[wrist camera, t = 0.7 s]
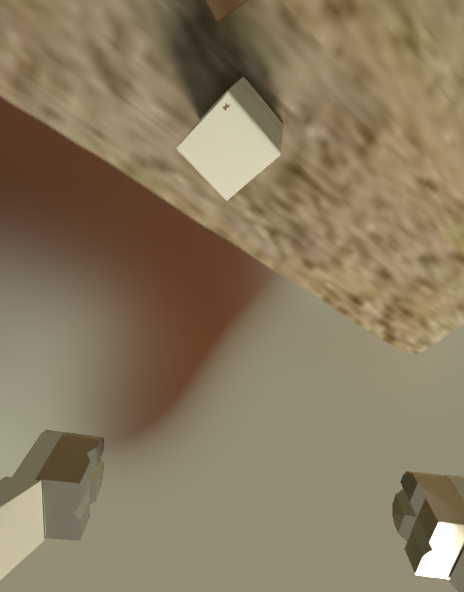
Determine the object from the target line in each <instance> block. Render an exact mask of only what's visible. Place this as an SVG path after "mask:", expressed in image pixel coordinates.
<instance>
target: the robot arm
mask: <svg viewBox="0 0 464 592" xmlns="http://www.w3.org/2000/svg"><path fill="white" fill-rule="evenodd" d="M103 451H104V438H103V437H98V436H91V435H83V434H76V433H69V432H58V431H51V430H45V431H44V432H43V433H41V435H40V436H39V438H38V439H37V441H36V442H35V444H34V445H33V447H32V448H31V450H30V451H29V453H28V454H27V455H26V457H25V458H24V460H23V461H22V463H21V465H20V466H19V468H18V469H17V471H16V472H15V473H14V475H13V477H5V478H3V479H1V480H0V580H1V579H2V578H3V577H4V576H5V575H6V574H7V573H9V571H11V570H12V569H13V568H14V567H15V566H16V565H17V564H18V563H20V562H21V561H22V560H23V559H24V558H25V557H26V556H27V555H28V554H30V553H31V552H32V551H33V550H34V549H35V548H36V547H37V546H38V545H39V544H40V543H42V542H43V541H44V538H53V539H67V540H80V539H81V537H82V535H83V532H84V530H85V527H86V525H87V522H88V519H89V517H90V505H91V504H92V503H93V502H95V501H96V499H97V496H98V493H99V491H100V487H101V483H102V479H103V470H104V462H103V461H102V459H101V456H102V453H103ZM401 484H402V486H403V490H401V491H400V492H398V493H397V494H396V495H395V498H394V501H393V519H394V524H395V527H396V529H397V532H398V533H399V534H400V535H401V536H402V537H403V538H404V539H405V540H406V541H407V543H406V546H405V551H406V553H407V556H408V558H409V561H410V563H411V565H412V567H413V570H414V572H415V574H416V575H422V576H429V577H437V578H445V579H449V582H450V583H451V584H452V585H453V586H454V587H455V588H456V590H457V591H458V592H464V478H463V477H461V476H451V475H438V474H428V473H419V472H410V471H407V472H406V473H405V474H404V475H403V477H402V479H401Z"/></svg>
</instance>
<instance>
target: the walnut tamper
mask: <svg viewBox="0 0 464 592" xmlns="http://www.w3.org/2000/svg"><path fill="white" fill-rule="evenodd" d="M206 1H207V3H208V5H209V7H210V9H211V11H212V13H213V15H214V17H215V19H216V21H217V22H219V21H221V20H222V19H223V18H225V17H226V16H227V15H229V14H230V13H231V12H233V11H234V10H235V9H237V8H238V7H239V6H241V5H242V4H243V3H245V2H246V1H247V0H206Z"/></svg>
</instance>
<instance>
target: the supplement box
mask: <svg viewBox="0 0 464 592" xmlns="http://www.w3.org/2000/svg"><path fill="white" fill-rule="evenodd" d="M282 134H283V124H282V122H281V121H280V120H279V118H278V117H277V116H276V115H275V113H274V112H273V111H272V110H271V108H270V107H269V106H268V105H267V104H266V102H265V101H264V100H263V99H262V98H261V96H260V95H259V94H258V93H257V92H256V90H255V89H254V88H253V87H252V86H251V84H250V83H249V82H248V81H247V80H246V78H245V77H242V78H241V79H240V80H239V81H237V82H236V83H235V84H234V85H233V86H232V87H231V88H230V89H229V90H227V91H226V92H225V93H224V94H223V95H222V96H221V97H220V98H219V100H218V101H217V102H216V103H215V104H214V105H213V106H212V107H211V108H210V109H209V110H208V111H207V112H206V113H205V114H204V116H203V117H202V118H201V119H200V120H199V121H198V122H197V123H196V125H195V126H194V127H193V128H192V129H191V131H190V132H189V133H188V134H187V135H186V137H185V138H184V139H183V140H182V141H181V142H180V144H179V145H178V146H177V150H178V151H179V152H180V153H181V154H182V155H183V156H184V157H185V158H186V159H187V160H188V161H189V162H190V164H191V165H192V166H193V167H194V168H195V169H196V170H197V171H198V172H199V173H200V174H201V175H202V176H203V177H204V178H205V179H206V180H207V181H208V182H209V183H210V184H211V185H212V186H213V187H214V188H215V189H216V191H217V192H218V193H219V194H220V195H221V196H222V197H223V198H224V199H225V200H226V201H228V200H229V199H230V198H231V197H232V196H233V195H234V194H235V193H237V192H238V191H239V190H240V189H241V188H242V187H243V186H245V185H246V184H247V183H248V182H249V181H251V180H252V179H253V178H254V177H255V176H256V175H258V174H259V173H260V172H261V171H262V170H264V169H265V168H266V167H267V166H268V165H269V164H271V163H272V162H273V161H274V160H275V159H276V158H278V157H279V156H280V155H281V144H282Z"/></svg>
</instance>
